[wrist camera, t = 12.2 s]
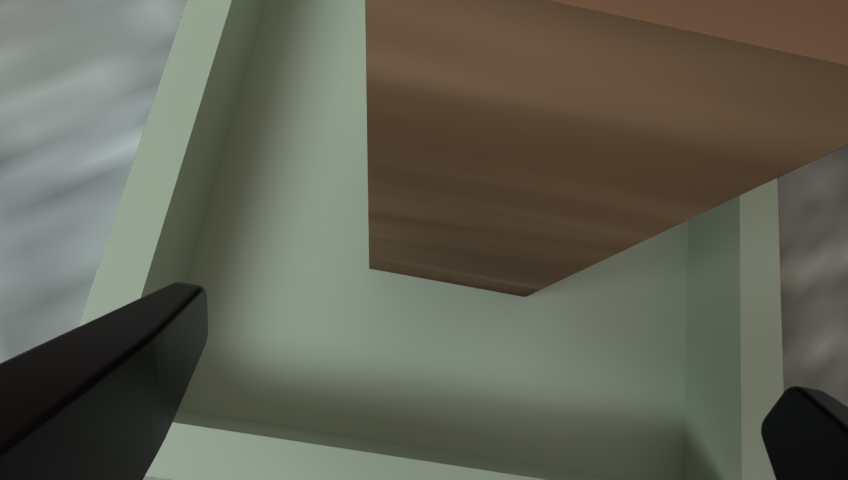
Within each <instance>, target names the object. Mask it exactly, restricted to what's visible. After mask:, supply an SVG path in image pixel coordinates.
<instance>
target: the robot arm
mask: <svg viewBox="0 0 848 480" xmlns="http://www.w3.org/2000/svg"><path fill="white" fill-rule="evenodd" d="M207 337H208V302H207V292H206V289H205V288H204V287H202V286H200V285H194V284H188V283H182V282H175V283H172V284H170V285H167V286H165V287H163V288H161V289H159V290H157V291H155V292H152V293H150V294H148V295H146V296H144V297H142V298H140V299H137V300H135V301H133V302H131V303H129V304H127V305H125V306H122V307H120V308H118V309H116V310H114V311H112V312H110V313H107V314H105V315H103V316H101V317H99V318H97V319H94V320H92V321H90V322H88V323H86V324H84V325H82V326H79V327H77V328H75V329H73V330H71V331H69V332H67V333H64V334H62V335H60V336H58V337H56V338H54V339H52V340H49V341H47V342H45V343H43V344H41V345H39V346H37V347H34V348H32V349H30V350H28V351H26V352H24V353H22V354H19V355H17V356H15V357H13V358H11V359H9V360H7V361H4V362H2V363H0V480H143V478H144V476H145V475H146V473H147V471H148V469H149V468H150V466H151V464H152V462H153V461H154V459H155V457H156V455H157V453H158V451H159V450H160V448H161V446H162V444H163V442H164V440H165V438H166V436H167V434H168V431H169V429H170V427H171V425H172V422H173V420H174V418H175V415H176V413H177V411H178V408H179V406H180V404H181V401H182V399H183V397H184V394H185V392H186V390H187V387H188V385H189V383H190V380H191V378H192V375H193V373H194V371H195V368H196V366H197V364H198V361H199V359H200V357H201V354H202V352H203V350H204V347H205V345H206V341H207ZM761 436H762V439H763V442H764V445H765V448H766V451H767V454H768V457H769V460H770V463H771V466H772V469H773V472H774V475H775V478H776V480H848V407H847V406H845V405H843V404H842V403H840V402H839V401H837V400H836V399H834V398H833V397H831V396H829V395H828V394H826V393H825V392H823V391H820V390H817V389H811V388H805V387H799V386H793V387H790V388H788V389H786V390H785V391H784V393H783V394H782V395H781V397H780V398H779V399H778V401H777V402H776V403H775V405H774V406H773V407H772V409H771V410H770V411H769V413H768V414H767V415H766V417H765V418H764V420H763V422H762V425H761Z"/></svg>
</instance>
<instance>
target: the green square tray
mask: <svg viewBox="0 0 848 480" xmlns="http://www.w3.org/2000/svg"><path fill="white" fill-rule="evenodd" d="M175 282H182V283H188V284H194V285H200V286H202V287H204V288H205V289H206V292H207V302H208V337H207V341H206V345H205V347H204V350H203V352H202V354H201V357H200V359H199V361H198V364H197V366H196V368H195V371H194V373H193V375H192V378H191V380H190V383H189V385H188V387H187V390H186V392H185V394H184V397H183V399H182V401H181V404H180V406H179V408H178V411H177V413H176V415H175V418H174V420H173V422H172V425H171V427H170V429H169V431H168V434H167V436H166V438H165V440H164V442H163V444H162V446H161V448H160V450H159V451H158V453H157V455H156V457H155V459H154V461H153V462H152V464H151V466H150V468H149V469H148V471H147V473H146V475H145V476H151V477H157V478H164V479H171V480H776V478H775V475H774V472H773V469H772V466H771V463H770V460H769V457H768V454H767V451H766V448H765V445H764V442H763V439H762V436H761V425H762V422H763V420H764V418H765V417H766V415H767V414H768V413H769V411H770V410H771V409H772V407H773V406H774V405H775V403H776V402H777V401H778V399H779V398H780V397H781V395H782V394H783V393H784V386H783V351H782V316H781V281H780V246H779V211H778V178H776V179H774V180H772V181H770V182H767V183H765V184H763V185H761V186H759V187H757V188H755V189H753V190H751V191H748V192H746V193H744V194H742V195H740V196H738V197H736V198H734V199H732V200H729V201H727V202H725V203H723V204H721V205H719V206H717V207H715V208H713V209H710V210H708V211H706V212H704V213H702V214H700V215H698V216H696V217H694V218H691V219H689V220H687V221H685V222H683V223H681V224H679V225H677V226H675V227H672V228H670V229H668V230H666V231H664V232H662V233H660V234H658V235H656V236H653V237H651V238H649V239H647V240H645V241H643V242H641V243H639V244H637V245H634V246H632V247H630V248H628V249H626V250H624V251H622V252H620V253H618V254H615V255H613V256H611V257H609V258H607V259H605V260H603V261H601V262H599V263H596V264H594V265H592V266H590V267H588V268H586V269H584V270H582V271H580V272H577V273H575V274H573V275H571V276H569V277H567V278H565V279H563V280H561V281H558V282H556V283H554V284H552V285H550V286H548V287H546V288H544V289H542V290H539V291H537V292H535V293H533V294H531V295H529V296H527V297H521V296H516V295H511V294H505V293H500V292H494V291H489V290H483V289H478V288H472V287H467V286H462V285H456V284H451V283H445V282H440V281H434V280H429V279H423V278H418V277H412V276H407V275H402V274H396V273H391V272H385V271H380V270H374V269H369V229H368V163H367V97H366V31H365V0H187V3H186V6H185V9H184V12H183V15H182V18H181V21H180V24H179V27H178V30H177V33H176V36H175V39H174V42H173V45H172V48H171V51H170V54H169V57H168V60H167V63H166V66H165V69H164V72H163V75H162V78H161V81H160V84H159V87H158V90H157V93H156V96H155V99H154V102H153V105H152V108H151V111H150V114H149V117H148V120H147V123H146V126H145V129H144V132H143V135H142V138H141V141H140V144H139V147H138V150H137V153H136V156H135V159H134V162H133V165H132V168H131V171H130V174H129V177H128V180H127V183H126V186H125V189H124V192H123V195H122V198H121V201H120V204H119V207H118V210H117V213H116V216H115V219H114V222H113V225H112V228H111V231H110V234H109V237H108V240H107V243H106V246H105V249H104V252H103V255H102V257H101V260H100V263H99V266H98V269H97V272H96V275H95V278H94V281H93V284H92V287H91V290H90V293H89V296H88V299H87V302H86V305H85V308H84V311H83V314H82V317H81V320H80V323H79V326H82V325H84V324H86V323H88V322H90V321H92V320H94V319H97V318H99V317H101V316H103V315H105V314H107V313H110V312H112V311H114V310H116V309H118V308H120V307H122V306H125V305H127V304H129V303H131V302H133V301H135V300H137V299H140V298H142V297H144V296H146V295H148V294H150V293H152V292H155V291H157V290H159V289H161V288H163V287H165V286H167V285H170V284H172V283H175ZM79 326H78V327H79Z"/></svg>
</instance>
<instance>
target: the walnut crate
mask: <svg viewBox="0 0 848 480" xmlns="http://www.w3.org/2000/svg"><path fill="white" fill-rule="evenodd" d="M365 31H366V97H367V163H368V229H369V269H374V270H380V271H385V272H391V273H396V274H402V275H407V276H412V277H418V278H423V279H429V280H434V281H440V282H445V283H451V284H456V285H462V286H467V287H472V288H478V289H483V290H489V291H494V292H500V293H505V294H511V295H516V296H521V297H527V296H529V295H531V294H533V293H535V292H537V291H539V290H542V289H544V288H546V287H548V286H550V285H552V284H554V283H556V282H558V281H561V280H563V279H565V278H567V277H569V276H571V275H573V274H575V273H577V272H580V271H582V270H584V269H586V268H588V267H590V266H592V265H594V264H596V263H599V262H601V261H603V260H605V259H607V258H609V257H611V256H613V255H615V254H618V253H620V252H622V251H624V250H626V249H628V248H630V247H632V246H634V245H637V244H639V243H641V242H643V241H645V240H647V239H649V238H651V237H653V236H656V235H658V234H660V233H662V232H664V231H666V230H668V229H670V228H672V227H675V226H677V225H679V224H681V223H683V222H685V221H687V220H689V219H691V218H694V217H696V216H698V215H700V214H702V213H704V212H706V211H708V210H710V209H713V208H715V207H717V206H719V205H721V204H723V203H725V202H727V201H729V200H732V199H734V198H736V197H738V196H740V195H742V194H744V193H746V192H748V191H751V190H753V189H755V188H757V187H759V186H761V185H763V184H765V183H767V182H770V181H772V180H774V179H776V178H778V177H780V176H782V175H784V174H786V173H789V172H791V171H793V170H795V169H797V168H799V167H801V166H803V165H805V164H808V163H810V162H812V161H814V160H816V159H818V158H820V157H822V156H824V155H827V154H829V153H831V152H833V151H835V150H837V149H839V148H841V147H843V146H846V145H848V0H365Z"/></svg>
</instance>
